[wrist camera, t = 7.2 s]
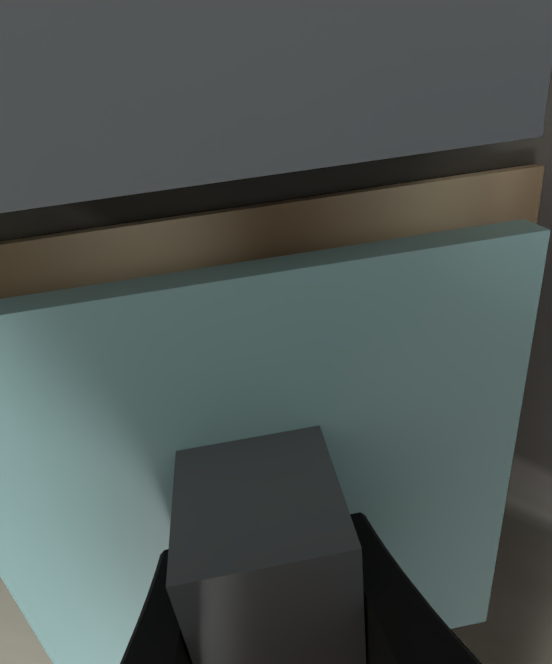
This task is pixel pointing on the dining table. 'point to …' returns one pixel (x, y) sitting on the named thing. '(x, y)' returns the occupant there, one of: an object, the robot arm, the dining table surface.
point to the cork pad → (267, 230)
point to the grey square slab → (254, 88)
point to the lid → (265, 442)
